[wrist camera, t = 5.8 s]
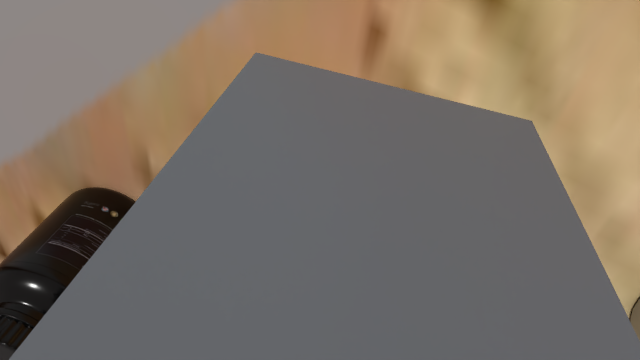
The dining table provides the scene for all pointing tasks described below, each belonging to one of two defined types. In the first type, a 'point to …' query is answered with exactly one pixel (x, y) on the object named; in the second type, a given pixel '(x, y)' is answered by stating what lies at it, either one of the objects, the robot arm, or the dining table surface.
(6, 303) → the supplement bottle
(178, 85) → the dining table surface
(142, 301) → the rectangular block
